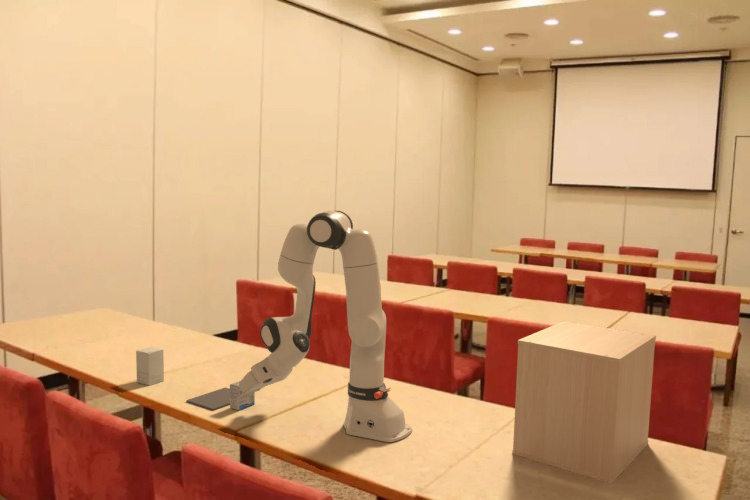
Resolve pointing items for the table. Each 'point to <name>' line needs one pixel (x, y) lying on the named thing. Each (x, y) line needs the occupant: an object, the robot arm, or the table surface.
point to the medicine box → (240, 397)
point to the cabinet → (583, 398)
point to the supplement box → (150, 366)
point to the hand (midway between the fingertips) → (254, 390)
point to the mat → (213, 399)
